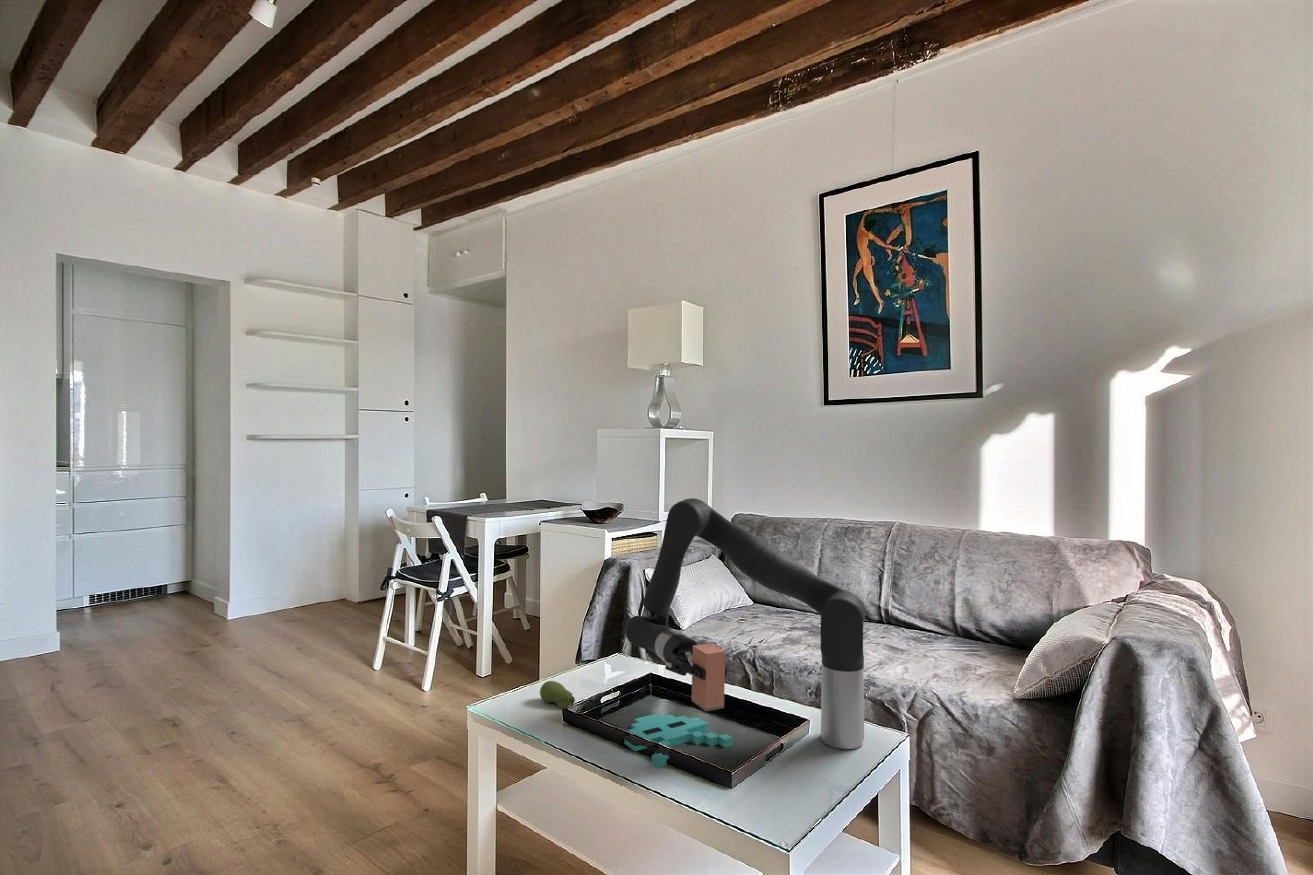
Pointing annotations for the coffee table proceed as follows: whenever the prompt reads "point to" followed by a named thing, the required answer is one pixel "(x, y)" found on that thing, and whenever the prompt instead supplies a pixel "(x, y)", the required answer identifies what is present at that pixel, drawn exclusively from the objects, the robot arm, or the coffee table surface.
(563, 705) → the pear
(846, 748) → the robot arm
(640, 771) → the coffee table surface
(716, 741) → the alien figure
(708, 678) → the block
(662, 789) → the coffee table surface
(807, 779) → the coffee table surface
